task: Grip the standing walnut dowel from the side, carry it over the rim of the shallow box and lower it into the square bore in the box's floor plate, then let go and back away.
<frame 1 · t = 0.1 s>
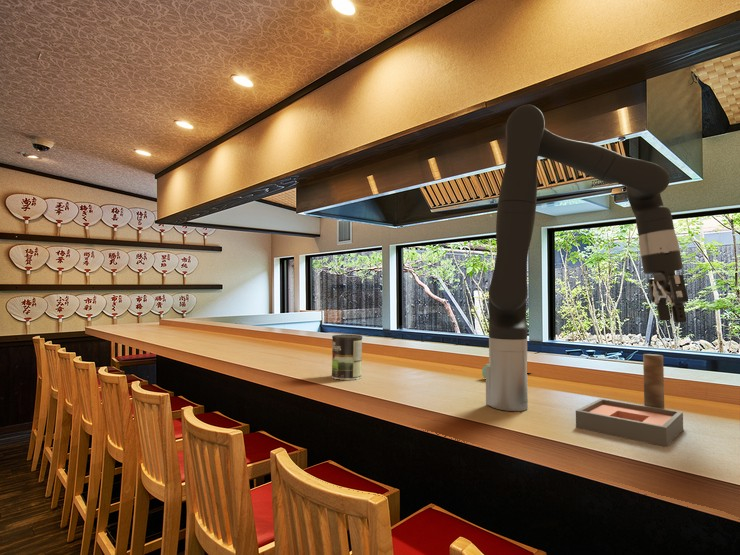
hand: (672, 321, 96), 22 cm above the worktop, tool pointing down, fingers open, 8 cm apart
dowel: (654, 414, 100), on the worktop
coffee can: (346, 378, 142), on the worktop
container: (510, 377, 147), on the worktop
bore box: (629, 428, 89), on the worktop
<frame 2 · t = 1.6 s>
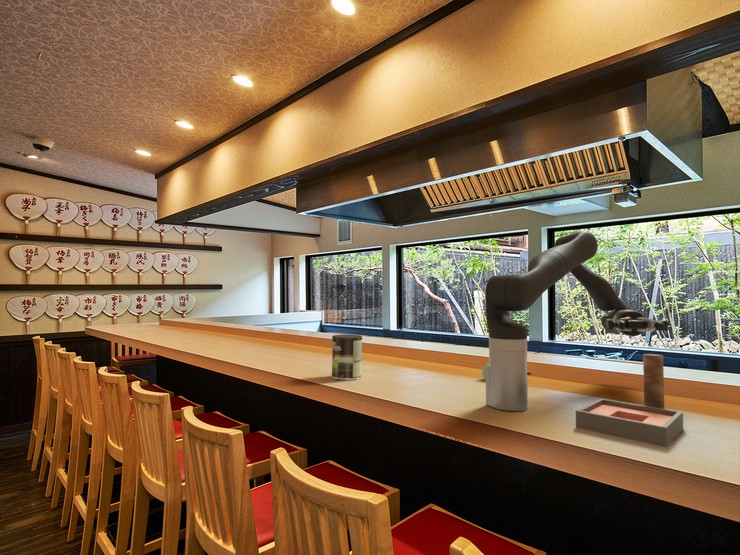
hand: (641, 326, 111), 20 cm above the worktop, tool horizontal, fingers open, 8 cm apart
nothing on the worktop moved.
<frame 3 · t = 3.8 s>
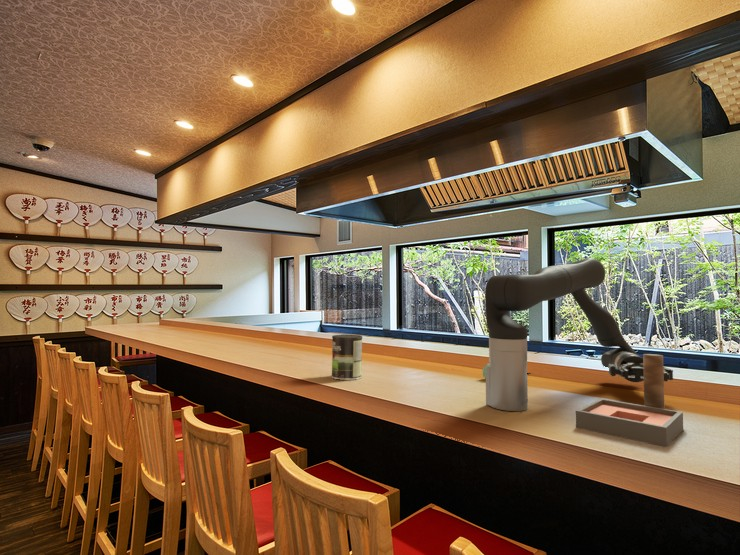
hand: (646, 375, 106), 8 cm above the worktop, tool horizontal, fingers open, 8 cm apart
nothing on the worktop moved.
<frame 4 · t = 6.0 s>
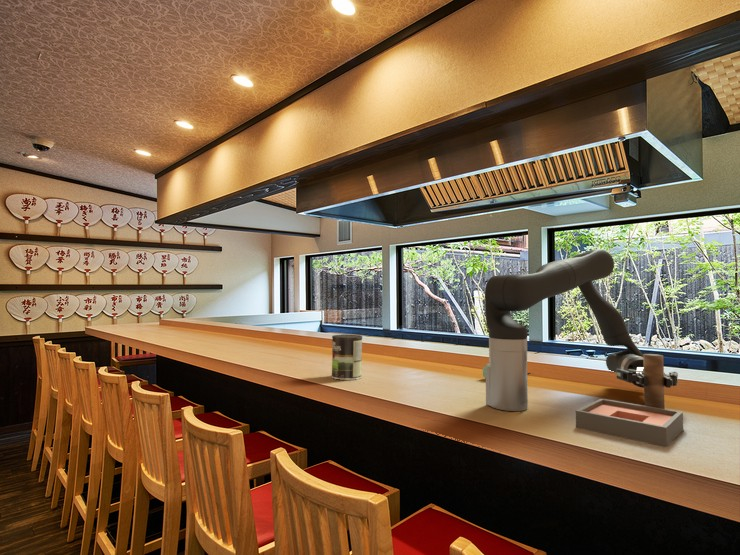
hand: (657, 382, 98), 8 cm above the worktop, tool horizontal, fingers closed on dowel, 4 cm apart
dowel: (654, 414, 100), on the worktop, touching gripper
everything else where it was.
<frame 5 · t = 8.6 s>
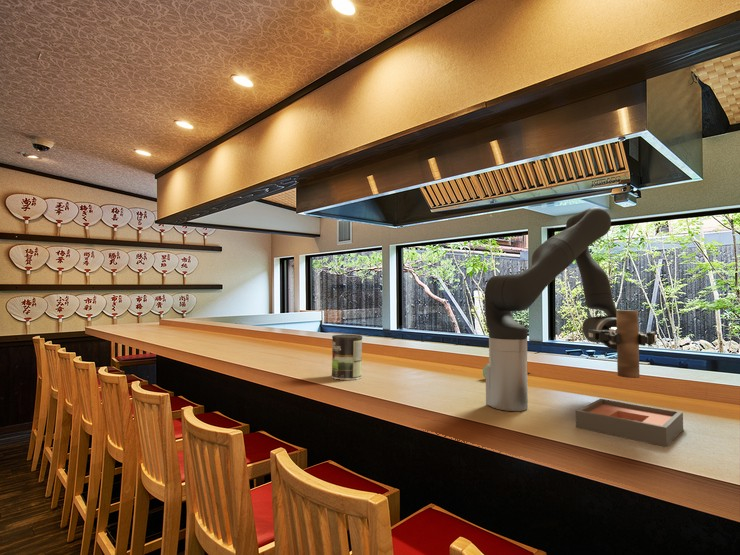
hand: (630, 339, 87), 19 cm above the worktop, tool horizontal, fingers closed on dowel, 4 cm apart
dowel: (628, 376, 89), point 11 cm above the worktop, touching gripper
everything else where it was.
when the fingers open (9 cm above the worktop, at t = 11.3 s): dowel stays where it is, resting in bore box.
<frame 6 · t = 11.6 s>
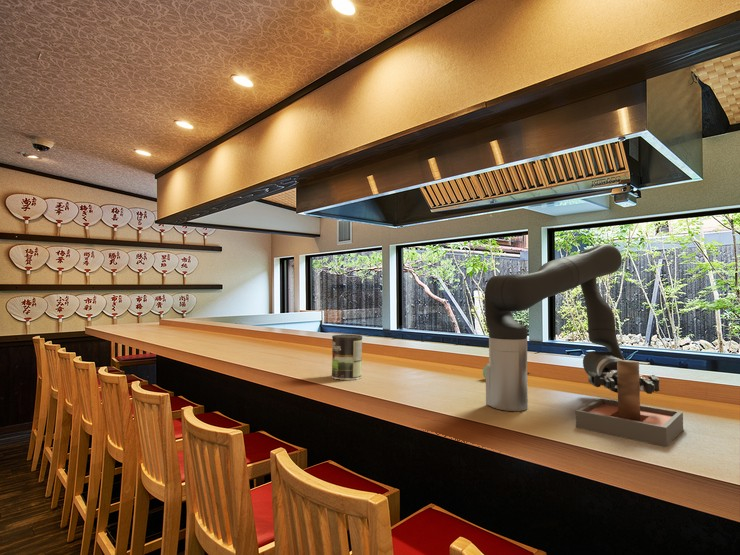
hand: (631, 387, 87), 9 cm above the worktop, tool horizontal, fingers open, 6 cm apart
dowel: (629, 427, 89), resting in bore box
everything else where it was.
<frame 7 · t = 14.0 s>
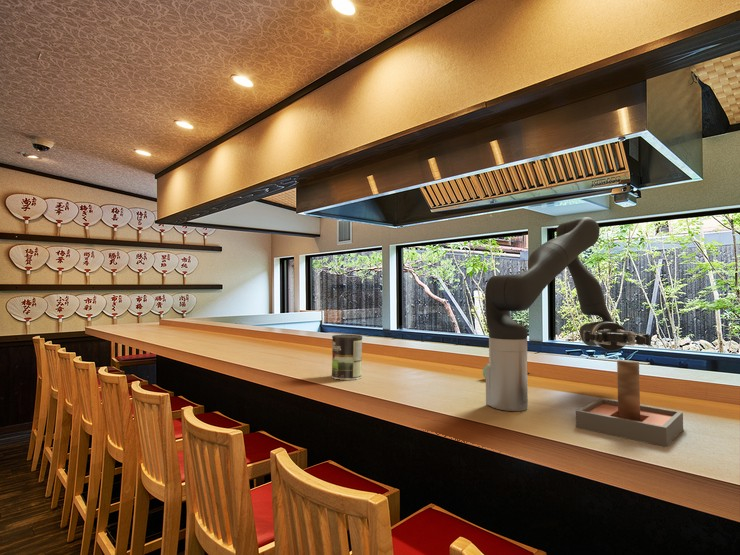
hand: (620, 339, 99), 18 cm above the worktop, tool horizontal, fingers open, 8 cm apart
nothing on the worktop moved.
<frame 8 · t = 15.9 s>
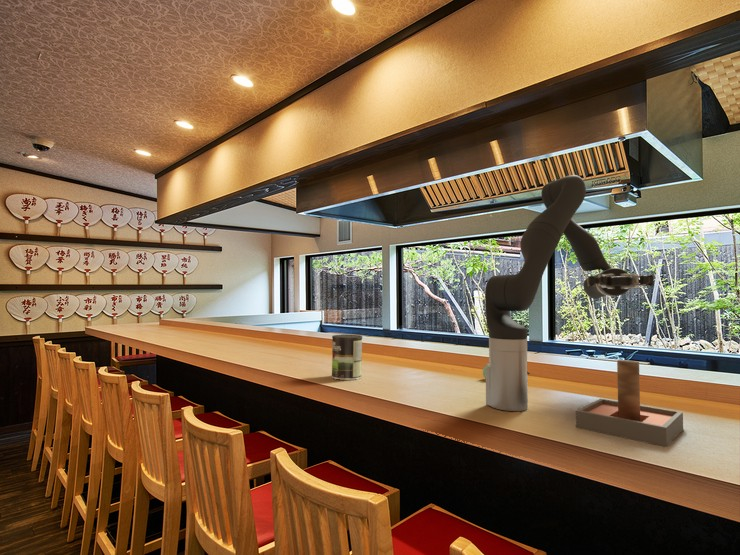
hand: (624, 279, 100), 32 cm above the worktop, tool horizontal, fingers open, 8 cm apart
nothing on the worktop moved.
at the end: dowel 0.1 cm off-centre on the bore box, point 0.0 cm above the bore box's base; dowel tilted 0°; the gripper is holding nothing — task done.
